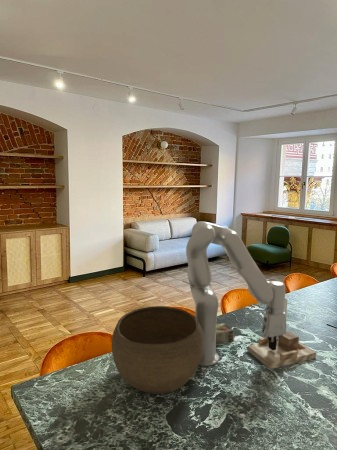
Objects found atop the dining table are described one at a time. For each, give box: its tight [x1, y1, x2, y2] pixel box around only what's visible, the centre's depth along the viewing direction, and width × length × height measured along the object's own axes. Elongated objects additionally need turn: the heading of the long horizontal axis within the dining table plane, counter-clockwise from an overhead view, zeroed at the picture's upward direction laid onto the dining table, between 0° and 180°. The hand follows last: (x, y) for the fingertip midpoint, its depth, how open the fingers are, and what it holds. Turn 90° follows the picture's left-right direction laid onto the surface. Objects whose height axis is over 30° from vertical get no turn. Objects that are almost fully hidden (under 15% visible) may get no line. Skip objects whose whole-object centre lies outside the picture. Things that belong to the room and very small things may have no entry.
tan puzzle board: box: [247, 337, 317, 370], centre depth 152 cm, size 25×16×5 cm, turn 112°
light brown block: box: [278, 331, 300, 352], centre depth 153 cm, size 6×6×6 cm
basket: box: [111, 305, 204, 395], centre depth 130 cm, size 35×35×25 cm
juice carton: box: [216, 323, 236, 344], centre depth 165 cm, size 20×10×6 cm, turn 110°
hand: (272, 348), depth 150 cm, fingers closed
